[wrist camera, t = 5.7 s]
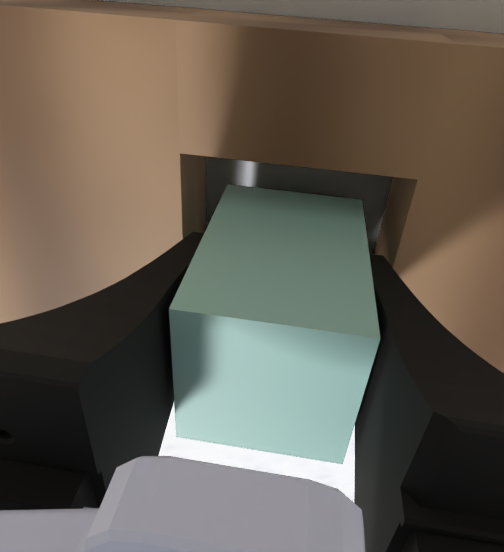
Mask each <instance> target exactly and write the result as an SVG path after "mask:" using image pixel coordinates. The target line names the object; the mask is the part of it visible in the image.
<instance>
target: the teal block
mask: <svg viewBox="0 0 504 552" xmlns="http://www.w3.org/2000/svg"><path fill="white" fill-rule="evenodd" d="M169 320H170V336H171V353H172V370H173V387H174V404H175V421H176V437H180V438H186V439H192V440H198V441H204V442H210V443H216V444H222V445H229V446H235V447H241V448H247V449H253V450H259V451H265V452H271V453H277V454H284V455H290V456H296V457H302V458H308V459H314V460H320V461H326V462H332V463H339V464H343V461H344V458H345V454H346V451H347V448H348V444H349V441H350V438H351V434H352V431H353V428H354V425H355V421H356V418H357V415H358V411H359V408H360V405H361V401H362V398H363V395H364V391H365V388H366V385H367V381H368V378H369V375H370V372H371V368H372V365H373V362H374V358H375V355H376V352H377V348H378V345H379V342H380V331H379V323H378V316H377V308H376V301H375V293H374V286H373V278H372V270H371V263H370V255H369V248H368V240H367V233H366V225H365V218H364V210H363V202H362V200H360V199H351V198H342V197H334V196H325V195H316V194H308V193H299V192H290V191H282V190H273V189H264V188H256V187H247V186H238V185H230V184H227V186H226V188H225V190H224V193H223V195H222V197H221V199H220V201H219V203H218V205H217V207H216V210H215V212H214V214H213V216H212V218H211V220H210V222H209V224H208V227H207V229H206V231H205V233H204V235H203V237H202V239H201V241H200V244H199V246H198V248H197V250H196V252H195V254H194V256H193V259H192V261H191V263H190V265H189V267H188V269H187V271H186V273H185V276H184V278H183V280H182V282H181V284H180V286H179V288H178V290H177V293H176V295H175V297H174V299H173V301H172V303H171V305H170V308H169Z"/></svg>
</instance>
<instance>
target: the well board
mask: <svg viewBox="0 0 504 552" xmlns="http://www.w3.org/2000/svg"><path fill="white" fill-rule="evenodd" d="M206 156H208V157H217V158H226V159H235V160H244V161H253V162H262V163H271V164H280V165H290V166H299V167H308V168H317V169H326V170H335V171H344V172H353V173H362V174H371V175H380V176H389V177H393V180H392V184H391V188H390V192H389V195H388V199H387V203H386V207H385V211H384V215H383V219H382V223H381V227H380V231H379V235H378V239H377V243H376V247H375V251H374V254H375V255H383V256H384V257H385V258H386V260H387V261H388V262H389V264H390V265H391V266H392V268H393V269H394V270H395V271H396V273H397V274H398V275H399V277H400V278H401V279H402V281H403V282H404V283H405V284H406V286H407V287H408V288H409V289H410V290H411V292H412V293H413V294H414V295H415V296H416V298H417V299H418V300H419V301H420V302H421V303H422V304H423V305H424V307H425V308H426V309H427V310H428V311H429V312H430V313H431V314H432V315H433V316H434V317H435V318H436V319H437V320H438V321H439V322H440V323H441V324H442V325H443V326H444V327H445V328H446V329H447V330H448V331H450V332H451V333H452V334H453V335H454V336H455V337H457V338H458V339H459V340H460V341H461V342H462V343H463V344H465V345H466V346H467V347H468V348H470V349H471V350H472V351H473V352H475V353H476V354H477V355H479V356H480V357H481V358H483V359H484V360H486V361H487V362H488V363H490V364H491V365H492V366H494V367H495V368H497V369H498V370H499V371H501V372H502V373H504V34H498V33H486V32H474V31H462V30H450V29H438V28H426V27H414V26H402V25H390V24H377V23H365V22H353V21H341V20H329V19H317V18H305V17H293V16H281V15H269V14H256V13H244V12H232V11H220V10H208V9H196V8H184V7H172V6H160V5H148V4H135V3H123V2H111V1H99V0H0V323H4V322H9V321H13V320H17V319H21V318H25V317H28V316H32V315H36V314H39V313H42V312H46V311H49V310H52V309H55V308H58V307H61V306H64V305H66V304H69V303H71V302H74V301H76V300H79V299H81V298H84V297H87V296H89V295H92V294H94V293H96V292H98V291H100V290H102V289H105V288H107V287H109V286H111V285H113V284H115V283H117V282H119V281H120V280H122V279H124V278H126V277H128V276H129V275H131V274H132V273H134V272H136V271H137V270H139V269H140V268H142V267H144V266H145V265H147V264H149V263H150V262H152V261H153V260H155V259H156V258H157V257H159V256H160V255H162V254H163V253H165V252H166V251H167V250H169V249H170V248H172V247H173V246H174V245H176V244H177V243H178V242H180V241H181V240H182V239H184V238H185V237H186V236H188V235H189V234H191V233H192V232H198V233H205V231H206Z"/></svg>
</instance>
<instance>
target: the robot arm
mask: <svg viewBox="0 0 504 552" xmlns="http://www.w3.org/2000/svg"><path fill="white" fill-rule="evenodd" d="M203 235H204V233H198V232H192V233H191V234H189V235H188V236H186V237H185V238H184V239H182V240H181V241H180V242H178V243H177V244H176V245H174V246H173V247H172V248H170V249H169V250H167V251H166V252H165V253H163V254H162V255H160V256H159V257H157V258H156V259H155V260H153V261H152V262H150V263H149V264H147V265H145V266H144V267H142V268H140V269H139V270H137V271H136V272H134V273H132V274H131V275H129V276H128V277H126V278H124V279H122V280H120V281H119V282H117V283H115V284H113V285H111V286H109V287H107V288H105V289H102V290H100V291H98V292H96V293H94V294H92V295H89V296H87V297H84V298H81V299H79V300H76V301H74V302H71V303H69V304H66V305H64V306H61V307H58V308H55V309H52V310H49V311H46V312H42V313H39V314H36V315H32V316H28V317H25V318H21V319H17V320H13V321H9V322H4V323H0V552H504V373H502V372H501V371H499V370H498V369H497V368H495V367H494V366H492V365H491V364H490V363H488V362H487V361H486V360H484V359H483V358H481V357H480V356H479V355H477V354H476V353H475V352H473V351H472V350H471V349H470V348H468V347H467V346H466V345H465V344H463V343H462V342H461V341H460V340H459V339H458V338H457V337H455V336H454V335H453V334H452V333H451V332H450V331H448V330H447V329H446V328H445V327H444V326H443V325H442V324H441V323H440V322H439V321H438V320H437V319H436V318H435V317H434V316H433V315H432V314H431V313H430V312H429V311H428V310H427V309H426V308H425V307H424V305H423V304H422V303H421V302H420V301H419V300H418V299H417V298H416V296H415V295H414V294H413V293H412V292H411V290H410V289H409V288H408V287H407V286H406V284H405V283H404V282H403V281H402V279H401V278H400V277H399V275H398V274H397V273H396V271H395V270H394V269H393V268H392V266H391V265H390V264H389V262H388V261H387V260H386V258H385V257H384V256H383V255H375V254H369V255H370V263H371V270H372V278H373V286H374V293H375V301H376V308H377V316H378V323H379V331H380V342H379V345H378V348H377V352H376V355H375V358H374V362H373V365H372V368H371V372H370V375H369V378H368V381H367V385H366V388H365V391H364V395H363V398H362V401H361V405H360V408H359V411H358V415H357V418H356V421H355V503H354V502H352V501H351V500H350V499H349V498H348V497H347V496H345V495H344V494H343V493H342V492H341V491H339V490H338V489H336V488H333V487H330V486H327V485H324V484H321V483H318V482H315V481H312V480H309V479H303V478H297V477H291V476H285V475H279V474H273V473H267V472H261V471H255V470H249V469H243V468H237V467H231V466H225V465H219V464H213V463H207V462H201V461H195V460H189V459H183V458H177V457H171V456H158V454H159V451H160V447H161V444H162V440H163V437H164V433H165V429H166V426H167V423H168V419H169V416H170V412H171V409H172V406H173V402H174V387H173V370H172V353H171V336H170V320H169V308H170V305H171V303H172V301H173V299H174V297H175V295H176V293H177V290H178V288H179V286H180V284H181V282H182V280H183V278H184V276H185V273H186V271H187V269H188V267H189V265H190V263H191V261H192V259H193V256H194V254H195V252H196V250H197V248H198V246H199V244H200V241H201V239H202V237H203Z"/></svg>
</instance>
